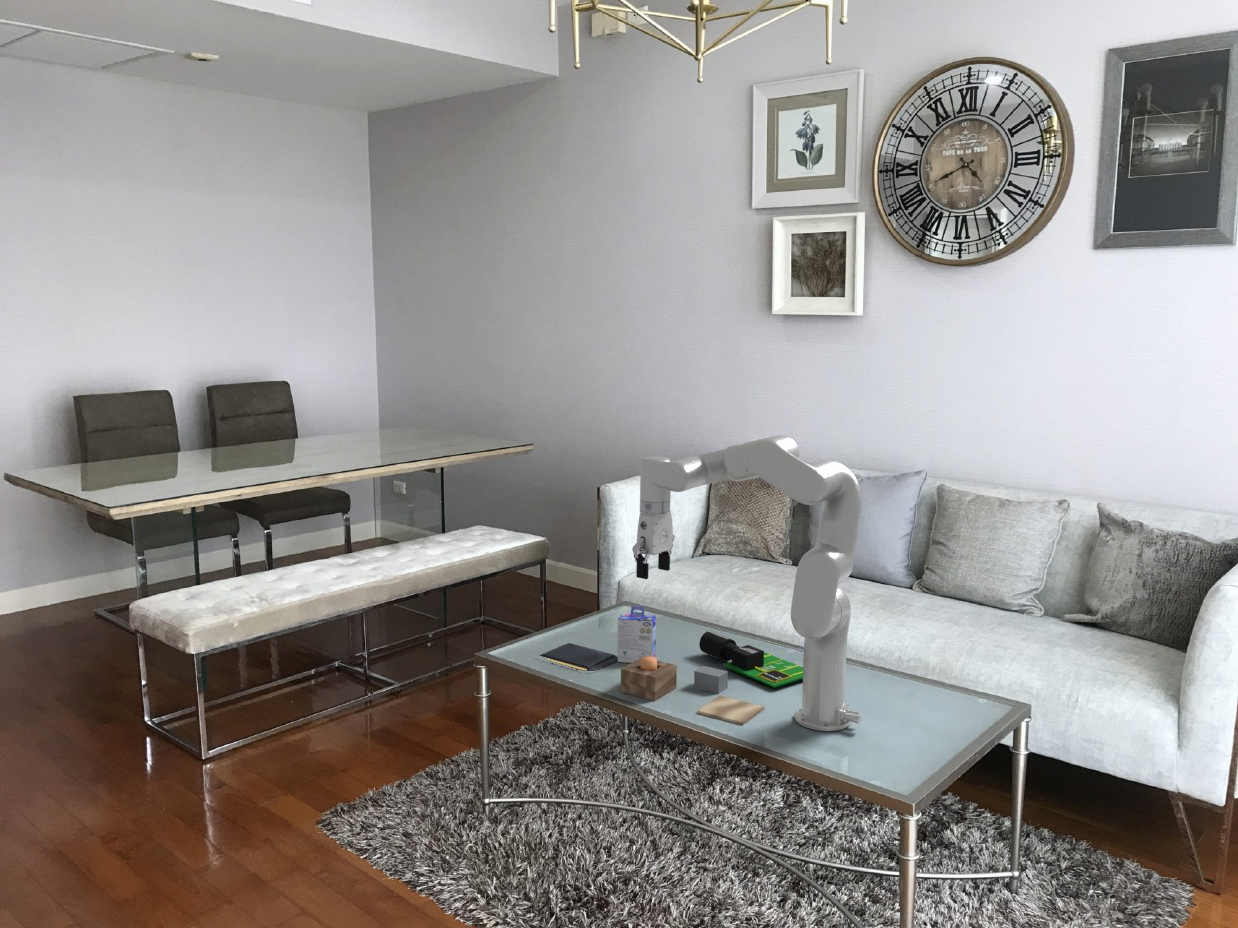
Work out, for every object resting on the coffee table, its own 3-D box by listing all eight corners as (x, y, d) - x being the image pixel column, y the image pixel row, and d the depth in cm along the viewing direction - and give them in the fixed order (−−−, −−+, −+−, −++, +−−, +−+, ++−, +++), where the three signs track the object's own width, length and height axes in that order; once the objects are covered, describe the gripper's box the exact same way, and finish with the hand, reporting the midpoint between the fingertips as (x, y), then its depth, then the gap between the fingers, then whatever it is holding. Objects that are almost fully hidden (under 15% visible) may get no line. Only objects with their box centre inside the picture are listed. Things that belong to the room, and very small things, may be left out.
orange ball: (660, 673, 244) (660, 658, 243) (651, 678, 240) (651, 663, 240) (646, 670, 246) (646, 655, 245) (637, 675, 243) (637, 659, 242)
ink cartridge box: (656, 658, 266) (657, 606, 264) (653, 665, 261) (653, 612, 259) (621, 655, 268) (621, 604, 266) (617, 662, 263) (617, 610, 261)
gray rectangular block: (727, 688, 245) (727, 671, 244) (718, 694, 241) (719, 676, 241) (703, 682, 249) (703, 665, 248) (694, 688, 245) (694, 670, 245)
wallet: (624, 654, 265) (587, 670, 254) (624, 661, 266) (587, 677, 254) (568, 639, 278) (531, 653, 266) (569, 645, 278) (531, 660, 266)
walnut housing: (676, 687, 245) (676, 664, 244) (655, 700, 237) (655, 677, 236) (642, 679, 251) (643, 657, 250) (620, 691, 242) (620, 668, 242)
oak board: (764, 708, 232) (764, 706, 232) (742, 724, 223) (743, 722, 223) (719, 697, 239) (719, 695, 239) (697, 712, 230) (697, 710, 230)
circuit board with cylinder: (817, 653, 250) (774, 665, 241) (816, 678, 251) (774, 692, 242) (737, 623, 274) (696, 633, 265) (736, 647, 275) (695, 658, 266)
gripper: (648, 514, 233) (646, 584, 236) (686, 503, 247) (684, 569, 250) (622, 510, 237) (620, 578, 240) (661, 499, 251) (659, 564, 254)
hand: (653, 573), depth 245 cm, fingers open, 9 cm apart
